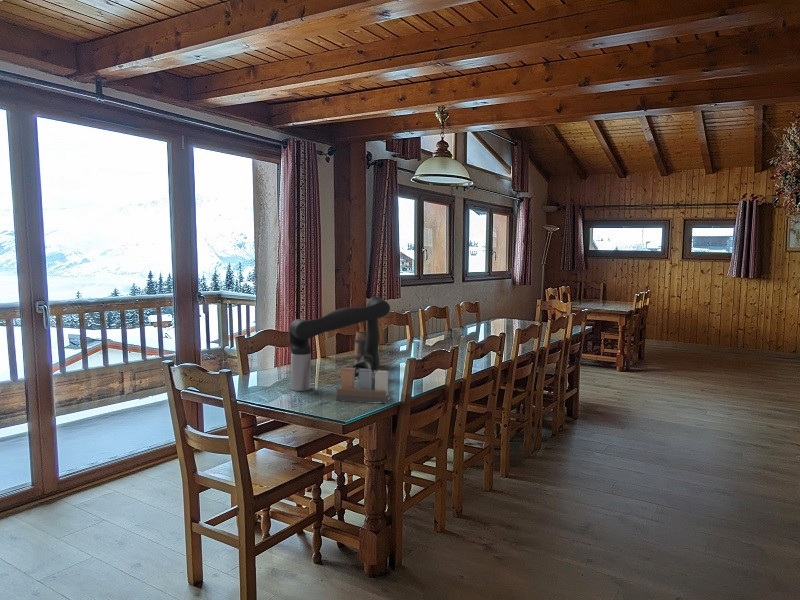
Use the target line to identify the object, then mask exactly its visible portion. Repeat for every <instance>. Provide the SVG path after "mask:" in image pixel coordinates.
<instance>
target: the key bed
mask: <svg viewBox="0 0 800 600" xmlns="http://www.w3.org/2000/svg"><path fill="white" fill-rule="evenodd" d="M335 396H336V397H335V400H336V401H338V400H343V401H342V402H351V401H361V402H360V403H363V402H381V403H385V402H386V401H387V400H388V398H389V397H390V398H391V392H388V395H387V396H386V391H377V390H375V389H371V390H363V389H359V388H354V389H349V388H341V387H337V389H336V395H335ZM390 398H389V399H390ZM388 401H389V400H388ZM388 401H387V402H388ZM387 402H386V403H387ZM386 403H385V404H386Z"/></svg>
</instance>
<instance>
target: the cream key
mask: <svg viewBox="0 0 800 600" xmlns="http://www.w3.org/2000/svg"><path fill="white" fill-rule="evenodd" d="M374 377H375V378H374V390H377V391H386V396H387V395H388V393H389V371H388V370H376V372H375V374H374Z"/></svg>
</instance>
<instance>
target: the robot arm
mask: <svg viewBox="0 0 800 600" xmlns="http://www.w3.org/2000/svg"><path fill="white" fill-rule="evenodd" d="M390 310H391V306H390V304H389V303H388V301H386V300H384V299H383V298H381V297H380V296H377V295H375V296H371V297H370V298H369V299H368V301H367V302H366V306H364V307H363V306H362V307H356V306H355V307H354V306H353V307H351V306H350V307H348V306H347V307H342V308H339V309H335V310H333V311H331V312H328V313H326V315H323V316H322V317H319V318H315V319H309V320H307V319H302V318H297V319H294V320H293V321H292V322H291V323H290V325H289V347H290V357H291V358H290V390H291V391H296V392H304V391H309V390H311V374H312V373H311V371H312V370H311V369H312V364H311V363H312V360H311V359H312V357H311V356H312V355H311V354H312V348H311V346H310V343H309V339H312V338H313V337H317V336H319V335H320V334H324V333H326V332H332V331H335V330H340V329H344V328H346V327H350V326H353V325H356V324H360V323H363V322H366V332H367V337H366V344H365V351H366V352H367V353H369V354H370V355H372V357H371V356H367V355H363V356H362V357H361V359H360V361H359V362H358V363H356V364H355V365H354V366H353V368H354V369H355V378H357V379H359V370H360V369H371V370H372V372H373V371H374V372H375V371H376V372H377V371H378V370H379V367H380V363H381V362H380V357H379V346H380V341H381V340H380V336H381V335H380V330H379V321H378V320H379V319H381V318H385V317H387V315H388V314H389V313H390Z"/></svg>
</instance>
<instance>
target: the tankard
mask: <svg viewBox="0 0 800 600" xmlns="http://www.w3.org/2000/svg"><path fill="white" fill-rule="evenodd" d="M366 337H367V331H356V332H355V338H354V354H353V361H352V362H351V364H350V365H352V366H354V365H355V364H356V363H358V362H359V361H360V359H361V357H362V356H363V355H367V356H371V357H372V355H370V354H369V353H367V352H366V351H365V344H366Z"/></svg>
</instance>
